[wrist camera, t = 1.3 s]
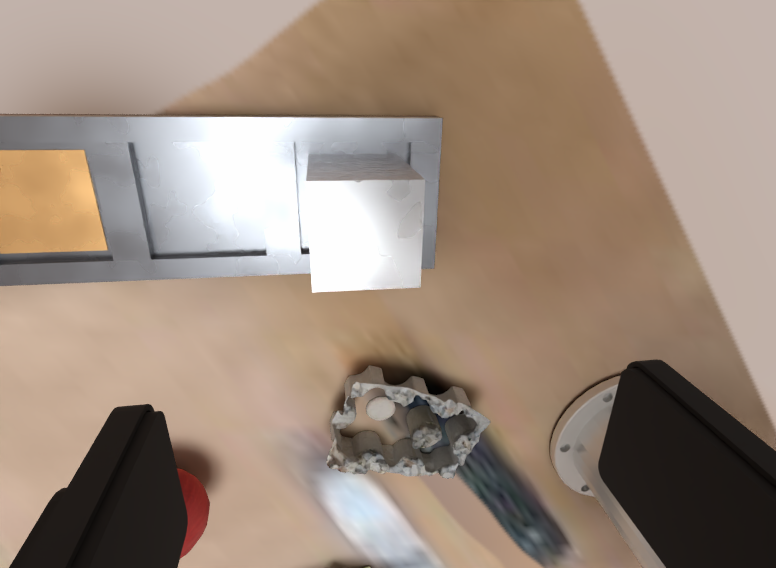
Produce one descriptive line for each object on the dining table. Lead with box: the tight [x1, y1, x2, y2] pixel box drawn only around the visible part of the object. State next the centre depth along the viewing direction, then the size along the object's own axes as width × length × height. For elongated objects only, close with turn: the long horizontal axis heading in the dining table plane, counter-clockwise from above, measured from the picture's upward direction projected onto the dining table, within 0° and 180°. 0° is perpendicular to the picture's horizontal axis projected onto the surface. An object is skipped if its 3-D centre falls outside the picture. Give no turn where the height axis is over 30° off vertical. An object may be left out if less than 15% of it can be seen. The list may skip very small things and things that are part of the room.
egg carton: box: [327, 366, 490, 479], centre depth 34 cm, size 11×8×4 cm
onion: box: [177, 468, 210, 558], centre depth 31 cm, size 6×6×8 cm
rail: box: [0, 114, 443, 286], centre depth 27 cm, size 27×9×2 cm, turn 89°
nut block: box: [306, 154, 425, 292], centre depth 24 cm, size 5×5×8 cm
